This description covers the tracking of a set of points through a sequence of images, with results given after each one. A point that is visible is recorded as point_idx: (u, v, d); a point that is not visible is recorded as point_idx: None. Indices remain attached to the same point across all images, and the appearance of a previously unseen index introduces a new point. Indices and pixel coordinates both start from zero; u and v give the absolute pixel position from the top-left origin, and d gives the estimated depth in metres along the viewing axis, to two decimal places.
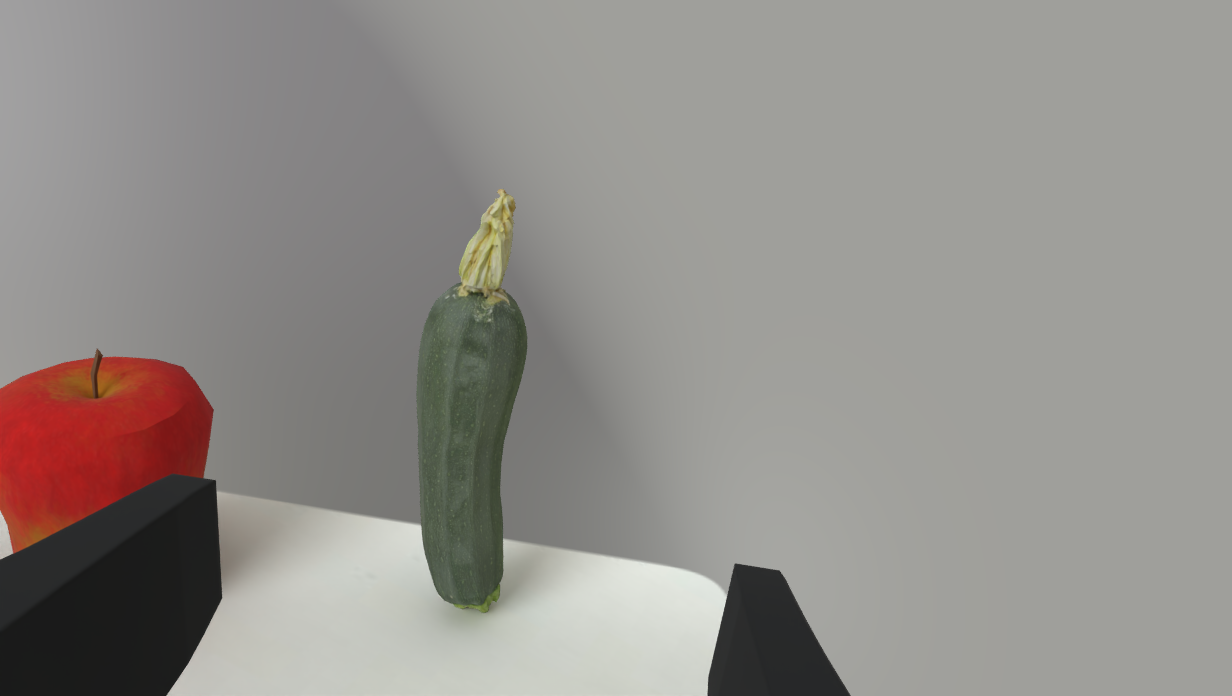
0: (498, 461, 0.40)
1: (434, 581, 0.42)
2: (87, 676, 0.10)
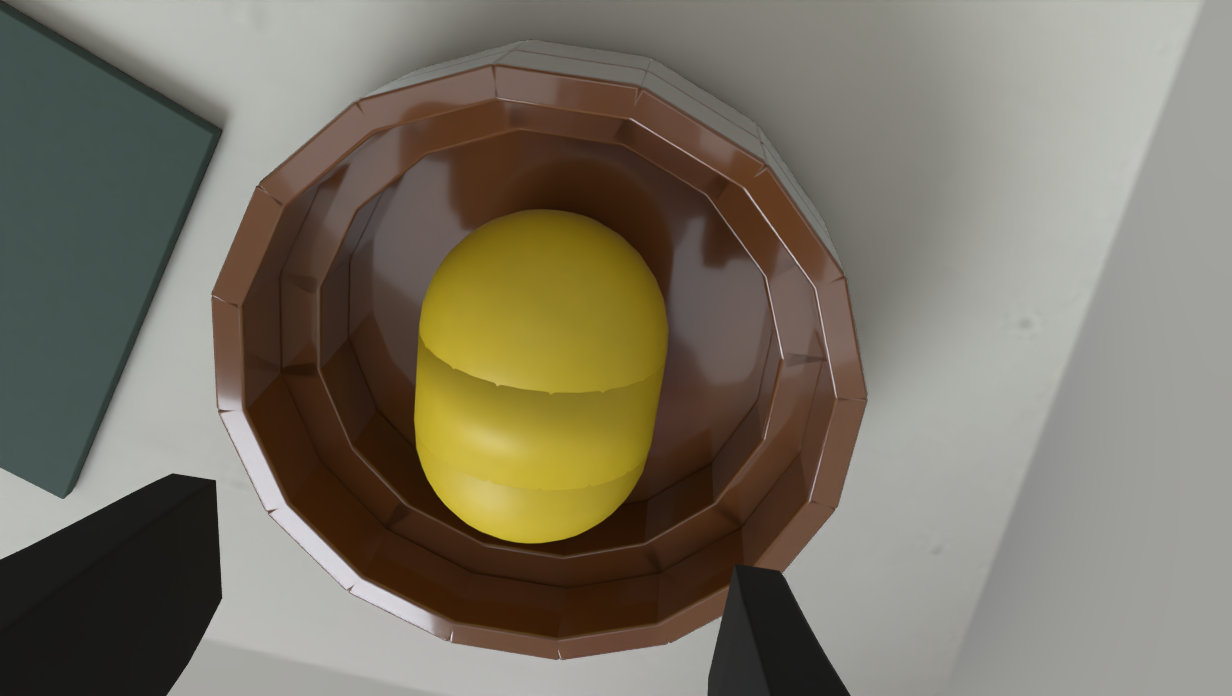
0: None
1: None
2: (87, 676, 0.10)
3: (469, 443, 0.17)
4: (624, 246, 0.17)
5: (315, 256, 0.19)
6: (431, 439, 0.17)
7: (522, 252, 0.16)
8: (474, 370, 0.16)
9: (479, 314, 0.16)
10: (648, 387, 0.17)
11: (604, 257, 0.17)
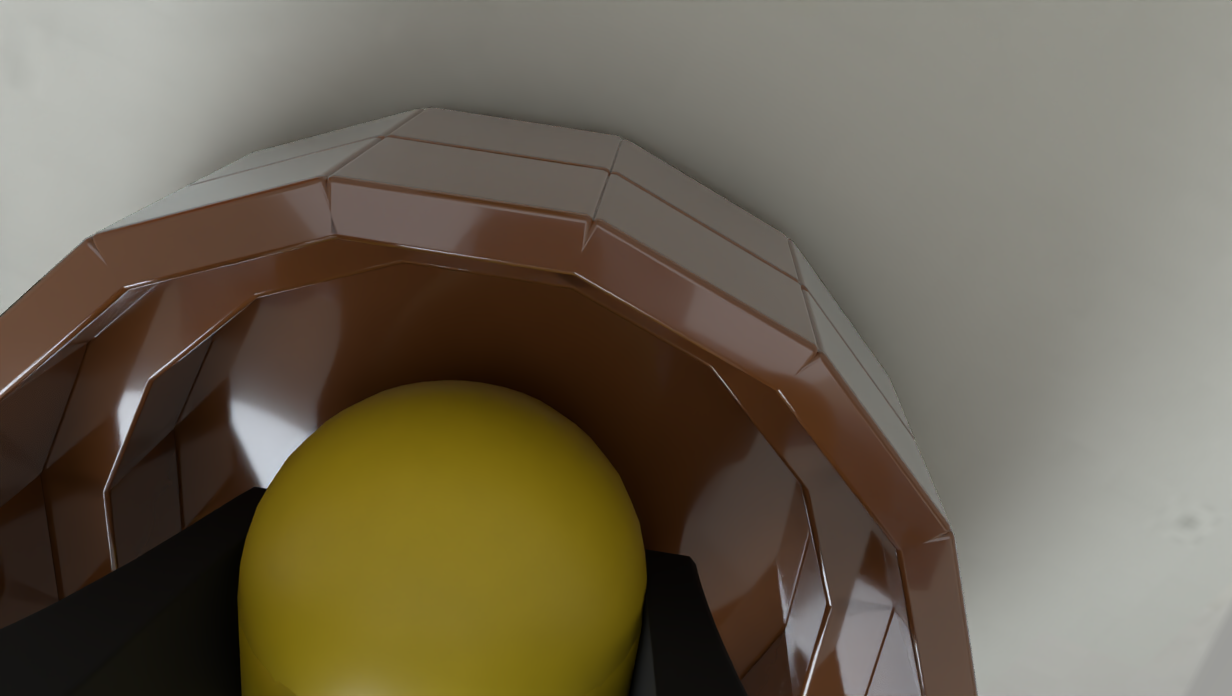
0: None
1: None
2: (186, 692, 0.10)
3: None
4: (572, 454, 0.11)
5: (94, 446, 0.12)
6: None
7: (391, 488, 0.09)
8: (308, 693, 0.09)
9: (313, 600, 0.09)
10: (612, 686, 0.11)
11: (534, 487, 0.10)
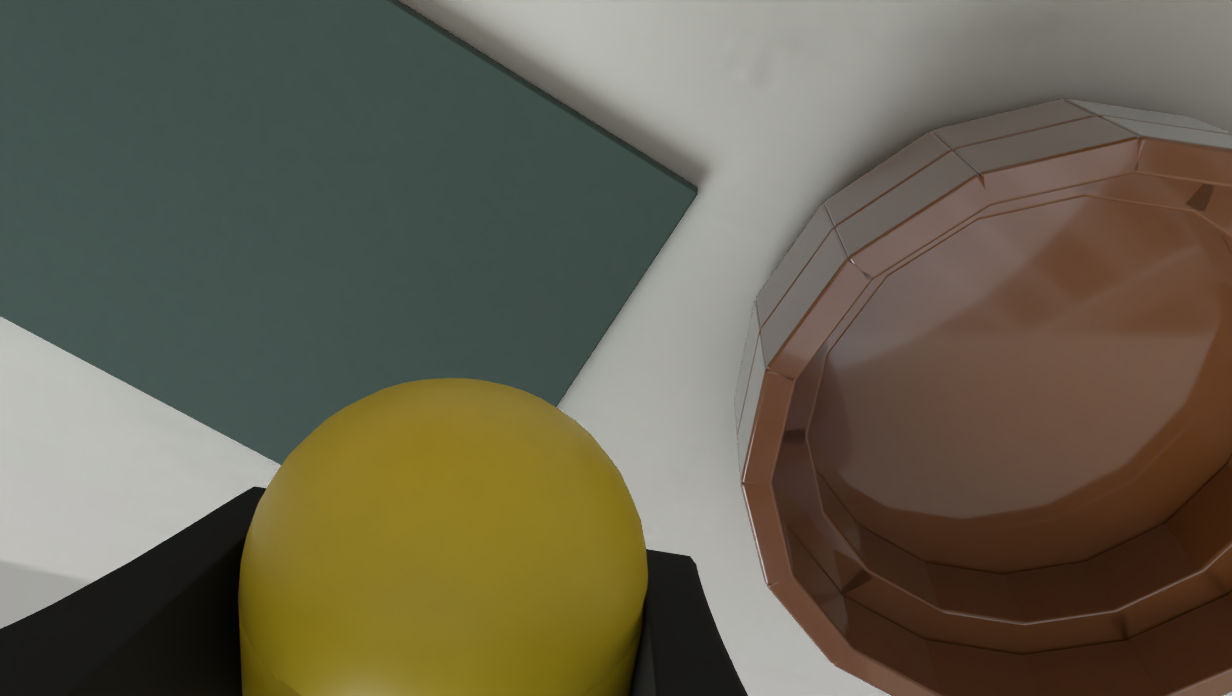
0: None
1: None
2: (186, 692, 0.10)
3: None
4: (574, 451, 0.10)
5: None
6: None
7: (393, 485, 0.09)
8: (309, 690, 0.09)
9: (314, 597, 0.09)
10: (613, 684, 0.11)
11: (536, 486, 0.10)
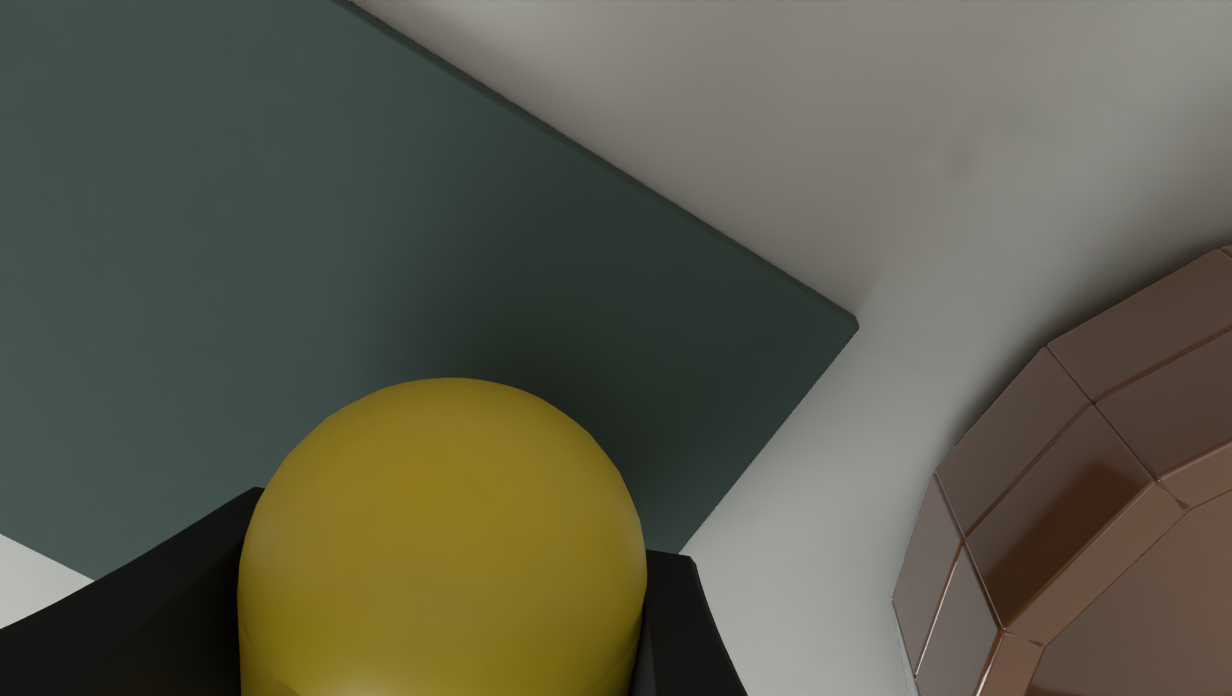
0: None
1: None
2: (186, 692, 0.10)
3: None
4: (573, 451, 0.10)
5: None
6: None
7: (391, 485, 0.09)
8: (307, 691, 0.09)
9: (312, 597, 0.09)
10: (612, 683, 0.11)
11: (535, 485, 0.10)
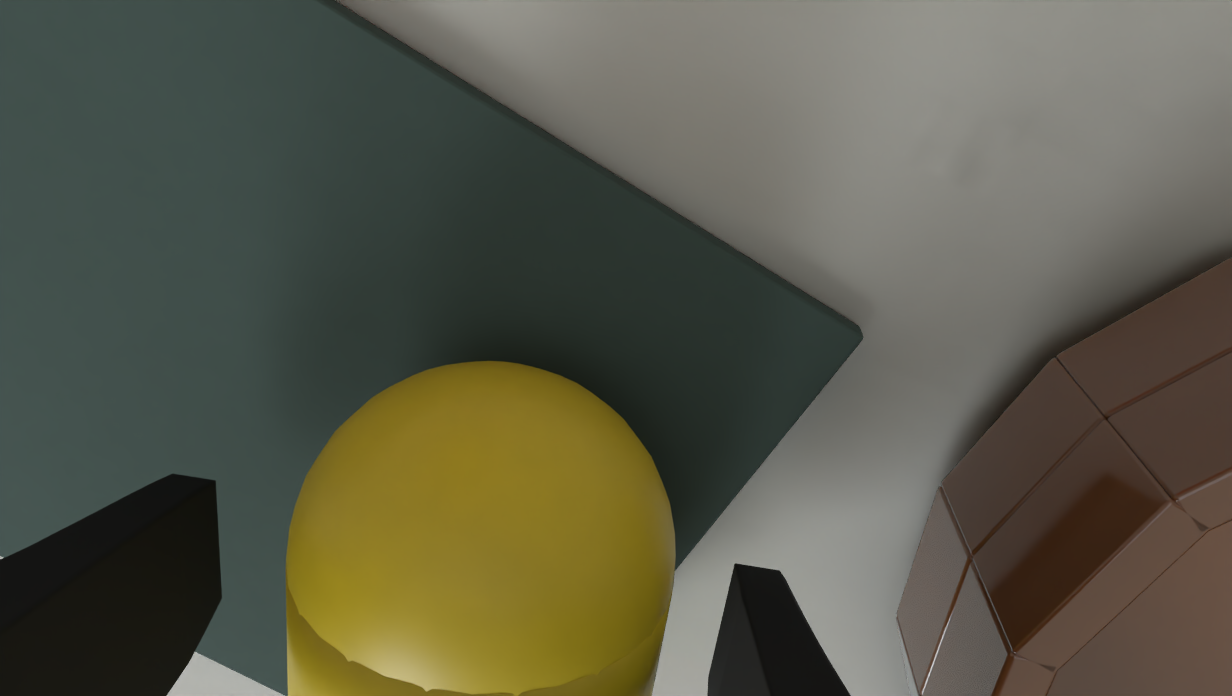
0: None
1: None
2: (87, 676, 0.10)
3: None
4: (607, 422, 0.11)
5: None
6: None
7: (453, 465, 0.10)
8: (386, 667, 0.10)
9: (388, 577, 0.10)
10: (655, 635, 0.11)
11: (584, 455, 0.10)
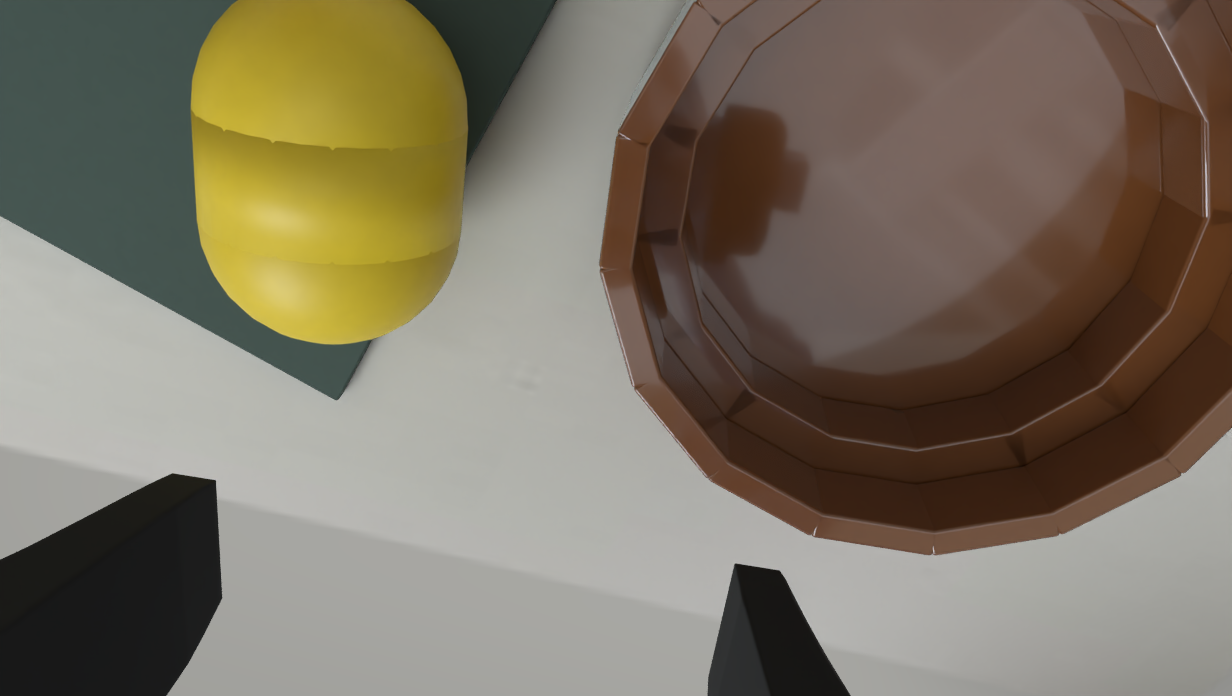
0: None
1: None
2: (87, 676, 0.10)
3: (303, 225, 0.15)
4: None
5: (698, 104, 0.17)
6: (248, 237, 0.16)
7: (323, 4, 0.15)
8: (302, 137, 0.15)
9: (295, 73, 0.15)
10: (463, 147, 0.17)
11: (404, 8, 0.16)
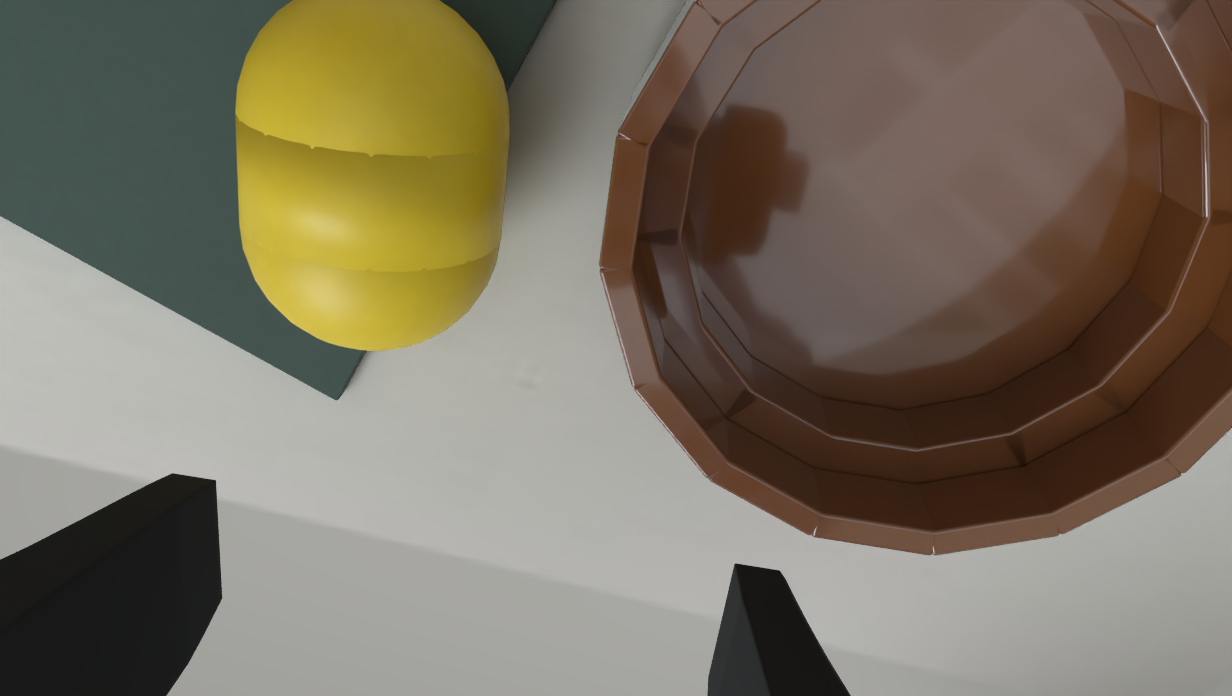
0: None
1: None
2: (87, 676, 0.10)
3: (398, 235, 0.16)
4: None
5: (698, 104, 0.17)
6: (338, 253, 0.16)
7: (398, 14, 0.15)
8: (402, 148, 0.15)
9: (391, 86, 0.15)
10: None
11: (456, 13, 0.16)
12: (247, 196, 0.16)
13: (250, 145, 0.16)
